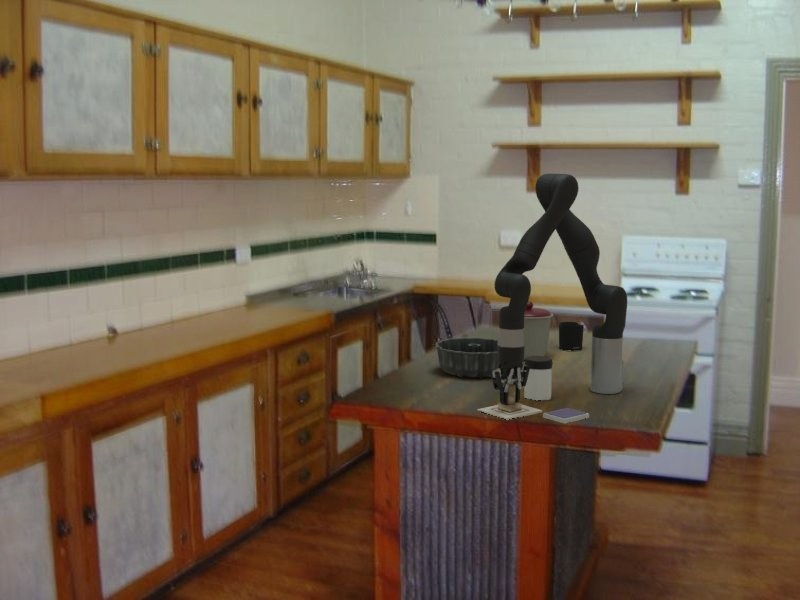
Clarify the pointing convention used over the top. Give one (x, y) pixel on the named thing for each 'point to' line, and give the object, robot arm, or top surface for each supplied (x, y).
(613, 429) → the top surface
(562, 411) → the ink pad
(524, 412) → the sheet
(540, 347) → the canister
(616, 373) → the robot arm
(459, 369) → the bundt pan
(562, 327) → the pen holder
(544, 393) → the jar
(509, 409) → the stamp
